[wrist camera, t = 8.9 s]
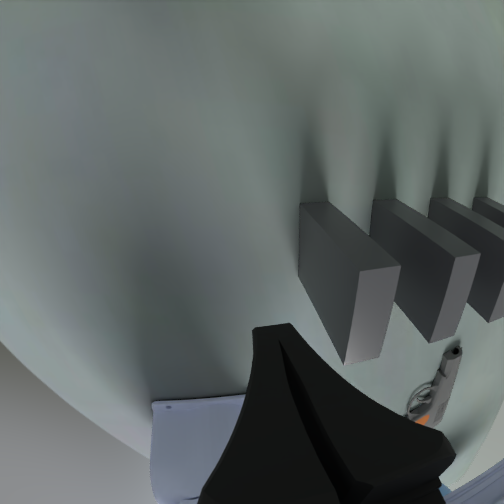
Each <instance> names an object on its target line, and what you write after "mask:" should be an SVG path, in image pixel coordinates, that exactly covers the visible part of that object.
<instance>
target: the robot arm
mask: <svg viewBox="0 0 504 504" xmlns="http://www.w3.org/2000/svg"><path fill="white" fill-rule="evenodd" d="M252 336H253V361H252V368H251V374H250V379H249V383H248V387H247V392H246V394H244V395H235V396H226V397H216V398H204V399H191V400H174V401H154V402H152V405H151V407H152V410H153V424H152V438H151V454H150V478H151V485H152V490H153V494H154V497H155V499H156V501H157V503H158V504H504V459H503V460H501V461H500V462H498V463H497V464H496V465H494V466H493V467H491V468H490V469H488V470H487V471H485V472H484V473H482V474H481V475H479V476H478V477H476V478H474V479H473V480H471V481H469V482H468V483H466V484H465V485H463V486H461V487H459V488H458V489H456V490H454V491H452V492H451V493H449V494H447V495H445V496H442V494H441V492H440V490H439V488H440V487H441V486H442V483H441V481H440V479H439V476H440V475H441V474H442V473H443V472H444V471H445V470H446V469H447V468H448V467H449V466H450V465H451V464H452V462H453V461H454V459H455V456H456V453H455V451H454V450H453V448H452V446H451V444H450V443H449V441H448V439H447V438H446V437H445V435H444V434H443V433H442V432H441V431H438V430H436V429H433V428H430V427H427V426H424V425H422V424H419V423H416V422H414V421H412V420H409V419H407V418H405V417H403V416H401V415H399V414H397V413H395V412H393V411H391V410H389V409H388V408H386V407H384V406H382V405H380V404H379V403H377V402H375V401H374V400H372V399H371V398H369V397H368V396H366V395H365V394H363V393H362V392H360V391H359V390H358V389H356V388H355V387H354V386H352V385H351V384H350V383H348V382H347V381H346V380H345V379H344V378H342V377H341V376H340V375H339V374H338V373H337V372H336V371H334V370H333V369H332V368H331V367H330V366H329V365H328V364H327V363H326V362H325V361H324V360H323V359H322V358H321V357H320V356H319V355H318V354H317V353H316V352H315V351H314V350H313V349H312V348H311V347H310V346H309V344H308V343H307V342H306V341H305V340H304V339H303V338H302V336H301V335H300V334H299V333H298V332H297V330H296V329H295V328H294V327H293V325H292V324H290V323H285V324H278V325H271V326H263V327H255V328H254V329H253V330H252Z"/></svg>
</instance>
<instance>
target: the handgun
mask: <svg viewBox="0 0 504 504" xmlns="http://www.w3.org/2000/svg"><path fill="white" fill-rule="evenodd" d="M451 351H452V350H450V351H448V352H447V353H445V354H443V357H442V362H441V367H440V369H439V370H437V373H436V376H435V380H434V381H433V384H432V386H431V387H427V388H424V389H423V390H421V391H420V392H419V393H417V394H416V395H415V396H414V397H413V399H412V400H411V401H410V404H409V407H408V409H407V414H408V415H407V417H406V418H407V419H409V420H412V421H414V422H416V423H419V424H422V425H424V426H427V427H430V428H434V427H435V426H436V425H437V424H439V423H440V422H441V420H442V418H443V415H444V413H445V410H446V407H447V404H448V401H449V398H450V395H451V392H452V389H453V385H454V382H455V379H456V375H457V372H458V368H459V364H460V360H461V357H462V347H461V348H460V347H459V346H457V347H455V349H454V353H453V354H452V352H451ZM428 389H431V391H430V394H429V396H428V397H426V398H425V399H423V400H418V398H417V402H419V403H423V404H422V405H421V406H420V407H418V408H417V409H414V410H413V411H412V412H411V413H410V412H409V410H410V407H411V405H412V402H413V401H414V399H415V398H416V396H417V395H419V394H420V393H421V392H423V391H424V390H428Z"/></svg>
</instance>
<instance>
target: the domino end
mask: <svg viewBox="0 0 504 504" xmlns="http://www.w3.org/2000/svg"><path fill="white" fill-rule="evenodd" d="M472 210H473V211H475V212H476V213H478V214H480V215H482V216H484V217H485V218H487V219H489V220H491V221H492V222H494V223H496V224H498V225H499V226H501V227H503V228H504V205H502V204H500V203H498V202H496V201H494V200H492V199H490V198H488V197H474V201H473V207H472Z"/></svg>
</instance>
